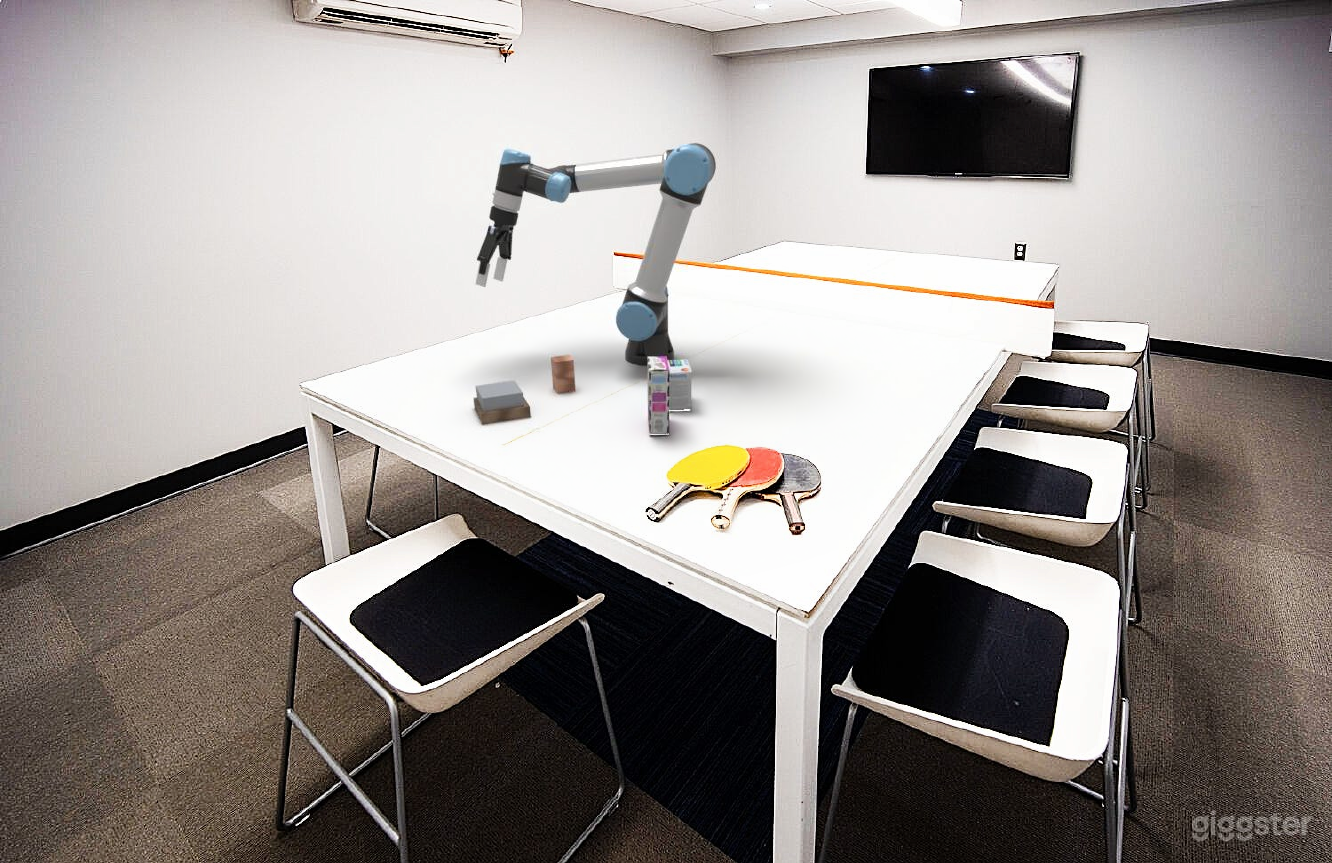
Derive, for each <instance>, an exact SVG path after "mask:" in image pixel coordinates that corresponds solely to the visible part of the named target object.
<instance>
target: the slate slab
mask: <svg viewBox="0 0 1332 863" xmlns="http://www.w3.org/2000/svg"><path fill="white" fill-rule="evenodd" d="M475 392H476V397H477V400H478V401H479V403H480V405H481V407H482V409H483V411H484V412H486V411H493V410H499V409H506V408H512V407H519V406H524V398H525V397H524V392H523V390H522V389H521V387H520V386H519V385H518V383H517V382H516V381H515V380H508V381H500V382H495V383H494V382H493V383H486V384H481V385H480V384H479V385H478V384H477V385H475ZM523 397H524V398H523Z"/></svg>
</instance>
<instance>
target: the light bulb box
mask: <svg viewBox="0 0 1332 863" xmlns="http://www.w3.org/2000/svg"><path fill="white" fill-rule="evenodd" d="M668 366H669V370H670V372H669V374H670V386H669V410H684V409H691V410H692V383H693V382H692V381H693V379H692V378H693V375H692V374H693V372H692V368H691V365H690V363H689V360H688V359H686V358H685V359H673V360H668Z"/></svg>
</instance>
